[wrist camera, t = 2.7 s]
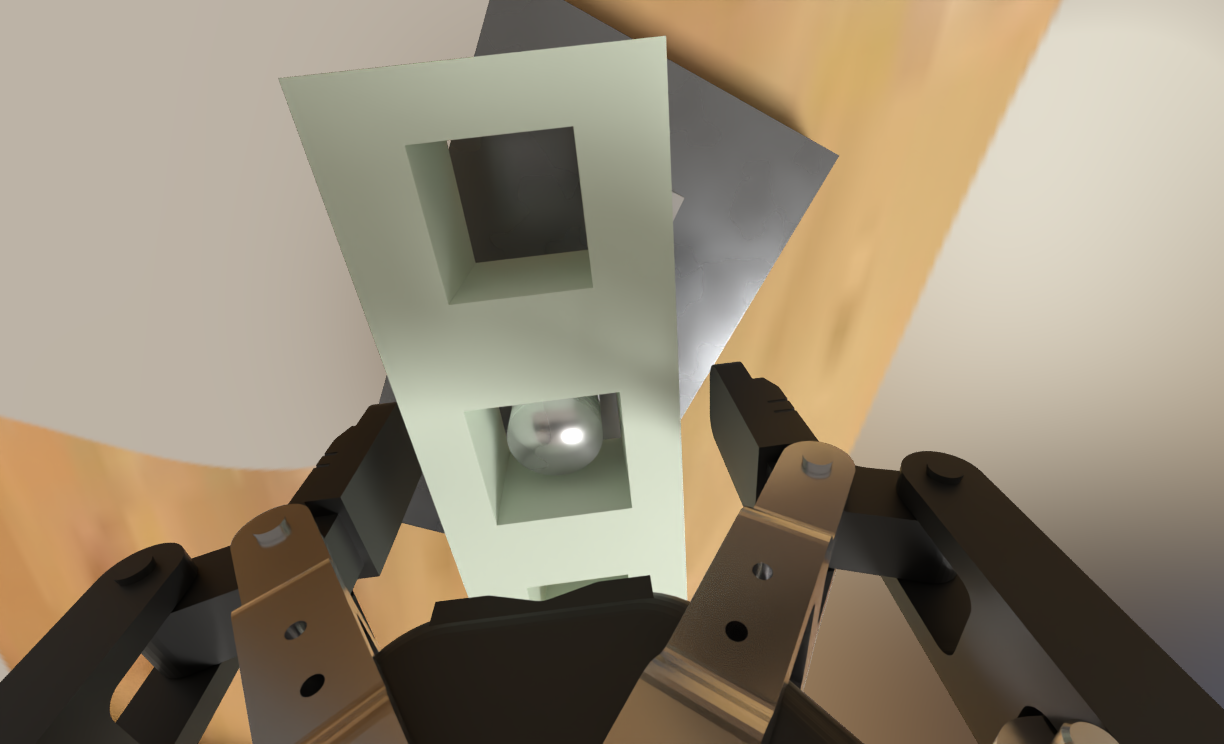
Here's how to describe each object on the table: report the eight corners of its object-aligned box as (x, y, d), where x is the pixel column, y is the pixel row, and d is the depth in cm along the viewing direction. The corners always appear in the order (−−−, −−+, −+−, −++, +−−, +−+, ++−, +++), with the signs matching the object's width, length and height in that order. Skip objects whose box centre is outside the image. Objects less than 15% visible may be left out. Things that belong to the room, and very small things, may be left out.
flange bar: (671, 571, 18) (689, 651, 15) (508, 593, 18) (498, 677, 15) (640, 56, 10) (666, 35, 8) (355, 87, 10) (278, 78, 7)
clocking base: (589, 542, 22) (595, 675, 17) (364, 483, 20) (289, 617, 14) (815, 152, 15) (948, 172, 10) (506, -21, 13) (461, -119, 7)
